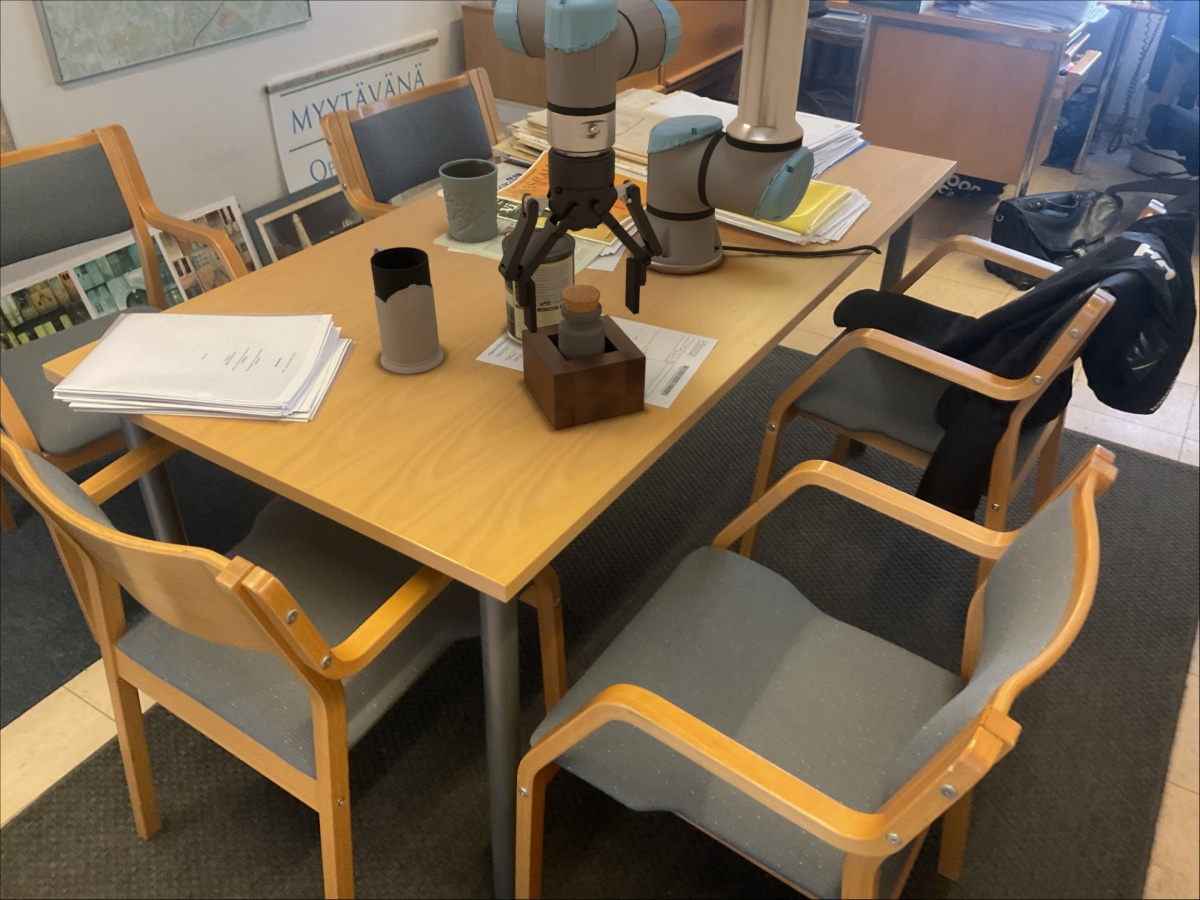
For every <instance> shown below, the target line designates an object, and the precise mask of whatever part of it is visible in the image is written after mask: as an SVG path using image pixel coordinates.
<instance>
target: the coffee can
mask: <svg viewBox="0 0 1200 900" xmlns="http://www.w3.org/2000/svg"><path fill="white" fill-rule="evenodd" d="M542 229H543V227H535V229H534V232H533V234H532V236H531V239H530V241H529V243H528V246H527V248H526V250H525V252H526V251H527V250H528V248H529V247H530V245H531V244H532V243H533V241H534V240H535V238H536V237H537V236H538V234H539V233H540V231H541V230H542ZM512 233H513V232H511V233H509V234H507V235H506V236H505V237H504V238H503V239H502V240H501V250H502V256H503V255H504V252H505V250H506V247H507V245H508V243H509V240H510V238H511V235H512ZM576 244H577V243H576V239H575V237H574V236H573V235H572V234H570V233H569V232H566V234H565V235H564V236H563V237H562V238H560V239H559V240H558V241H557V242H556V244H555V245H554V246H553V248H552V249H551V251H550V252H549V253H548V255H547V256H546V257H545V259H544V260H543V262H542V263H541V264H540V266H539V267H538V268H537V270H536V271H535V273H534V274H533V275H532V277H531V278H532V280H533V281H534V282H535V286H536V313H537V327H543V326H548V325H554V324H559V323H560V322H561V320H563V319H564V317H563V316H562V314H561V305H562V303H564V300H563V296H562V292H563V290H564V289H566V288H568V287H570V286H574V285H576V266H575V265H576V264H575V262H576V261H575V257H576V256H575V255H576V254H575V251H576ZM524 254H525V253H524ZM504 292H505V305H506V324H507V329H506V330H507V331H506V332H507V336H508V337H509V339H510V340H511V341H513V342H514V343H516V344H518V345H521V346H522V330H526V329H528V328H527V327H526V326H525V324H524V308H523V307H520V306H519V304H518V303H517V301H516V299H515V281H512V280H511V281H506V280H505V279H504Z"/></svg>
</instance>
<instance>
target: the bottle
mask: <svg viewBox="0 0 1200 900" xmlns="http://www.w3.org/2000/svg"><path fill="white" fill-rule="evenodd" d="M562 296H563V300H564V303H562V305H561V314H562V316H563V317H564V319H563V320H561V322H560V323H559V327H558V338H559V352H560V353H561V355H562V356H563V357H564V359H565V360H566V361H569V360H574V359H579V358H584V357H589V356H594V355H599V354H604V353H605V326H604V323H603V322H602V320H601V319H599V317H600V316H602V315H603V305H602V303H600V298H601V291H600V290H599V289H598V288H597V287H595V286H592V285H589V284H588V285H587V284H575V285H574V286H570V287H568V288H566V289H564V290H563V292H562Z"/></svg>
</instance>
